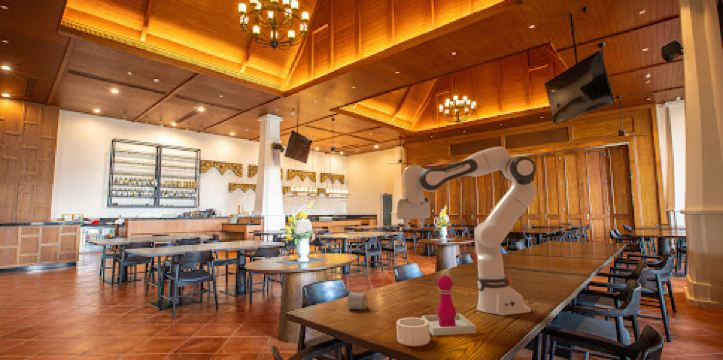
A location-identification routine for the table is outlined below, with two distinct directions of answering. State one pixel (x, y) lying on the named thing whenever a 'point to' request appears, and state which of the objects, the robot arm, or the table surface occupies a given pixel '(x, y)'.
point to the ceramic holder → (413, 331)
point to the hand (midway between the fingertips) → (414, 228)
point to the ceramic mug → (357, 301)
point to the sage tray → (460, 328)
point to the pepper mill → (445, 302)
